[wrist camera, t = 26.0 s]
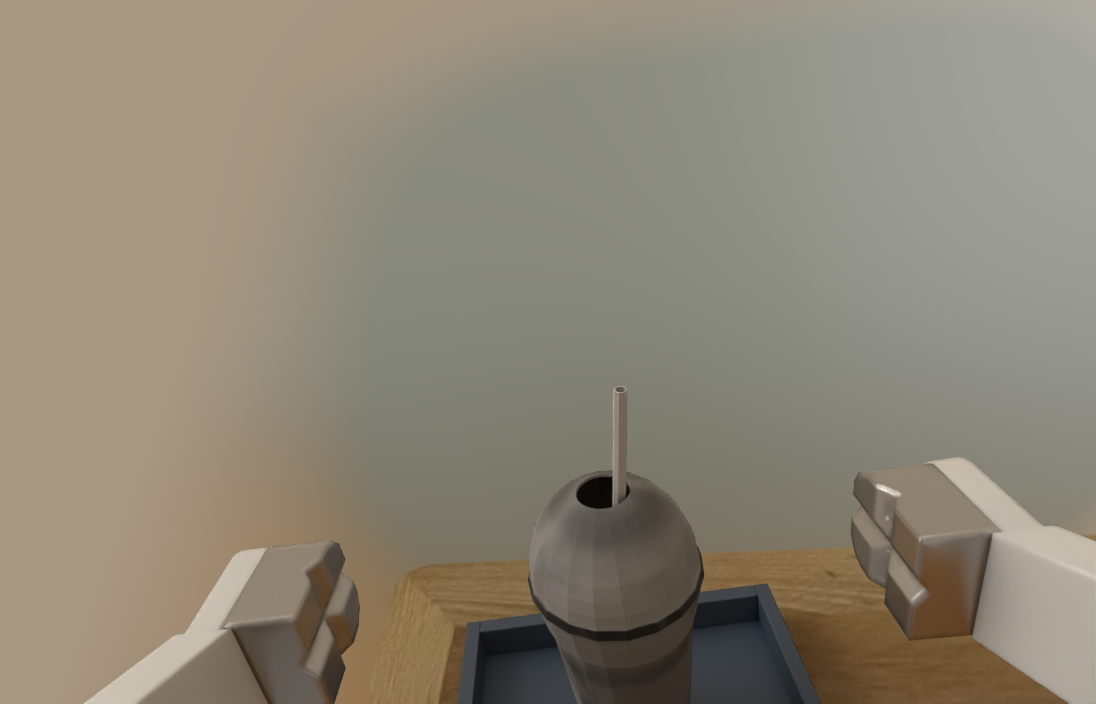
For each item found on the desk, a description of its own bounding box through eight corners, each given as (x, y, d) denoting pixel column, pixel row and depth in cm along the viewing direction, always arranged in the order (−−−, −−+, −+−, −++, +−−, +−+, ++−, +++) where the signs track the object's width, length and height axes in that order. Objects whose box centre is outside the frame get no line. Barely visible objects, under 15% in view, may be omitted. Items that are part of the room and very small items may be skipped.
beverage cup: (584, 667, 35) (522, 347, 26) (719, 685, 33) (697, 342, 24) (551, 805, 29) (455, 444, 20) (714, 840, 26) (682, 450, 18)
